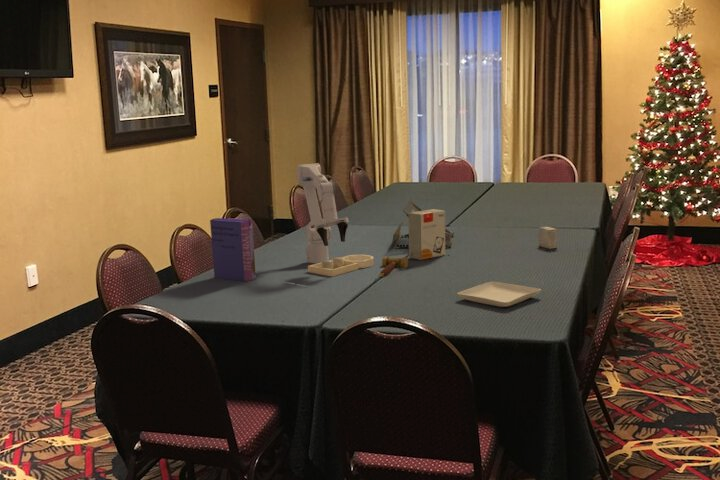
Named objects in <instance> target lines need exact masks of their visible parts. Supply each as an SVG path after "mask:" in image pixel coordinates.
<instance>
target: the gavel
mask: <svg viewBox="0 0 720 480" xmlns="http://www.w3.org/2000/svg"><path fill="white" fill-rule="evenodd" d="M381 266H382V267H385V268H383V269H382V270H381V271H380V275H379V277H381V278H383V277H386V276H387V275H389V274H390V273H391V271H392V270H394V269H395V268H397V267H399V268H402V269H407V268H408V266H409V259H408V258H407V257H401V258H400V257H389V256H383V257H382V260H381Z"/></svg>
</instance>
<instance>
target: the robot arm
mask: <svg viewBox="0 0 720 480" xmlns="http://www.w3.org/2000/svg"><path fill="white" fill-rule="evenodd" d="M296 177H297V182H298V185H299V186H301V187H302V188H303V191H304V192H303V193H304V195H305V199H306V200H305V201H306V204H307V209H308V215H309V217H310V221H309V223H308V224H306V228H305V230H306V238H307V241H308V242H307V245H306V247H305V249H306V251H305V253H306V260H305V263H306V264H307V263H311V264H317V263H321V262H322V261H324V260H330V259H329V258H330V257H329V243H330V241H331V239H332V236H333V233H332V232H333V231H332V228H331V227H335V226H337V229H338V231H339V236H340V237H339V238H340V241H341V242H343V243H344V242H346V234H347V229H348V227H349V226H348V223H349V217H341V218H339V217H338V212H337V205H336V200H335V199H336V198H335V195H336V194H335V193H336V187H335V183H334V182H333V181H329V180H328V178H327V177H326V176H325V175H324V174H322V168H321V164H320V163H319V162H317V163H308V164H307V163H304V164H297V166H296ZM319 202H320V204H319ZM320 205H321V210H320ZM321 211H322V214H321Z"/></svg>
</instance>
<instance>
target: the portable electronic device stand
mask: <svg viewBox="0 0 720 480" xmlns="http://www.w3.org/2000/svg"><path fill="white" fill-rule="evenodd" d="M418 211H423V209H421V208H420V207H419V206H418V205H416V204H415V203H413V202H412V200H409V201H408V202H407V204H406V206H404V208H403V210H402V212H404V214H405V215H406V217H407V218H408V219H409V213H411V212H418ZM403 224H404V222H402V221H401V222H400V223H399V225H398V227H396V230H395V231H394V233H393V237H392V249H394V248H395V250H409V244H403V245H402V244H400V242H401V240H402V239H409V233H407V234H402V235H401V233H402V232H401V230H402V226H403ZM454 234H455V232H453V233H452V232H451V231H449V230H448V229H447V228H445V250H446V249H449V248H450V247H451V246H452V244H453V243H452V238H453V236H454Z"/></svg>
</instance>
